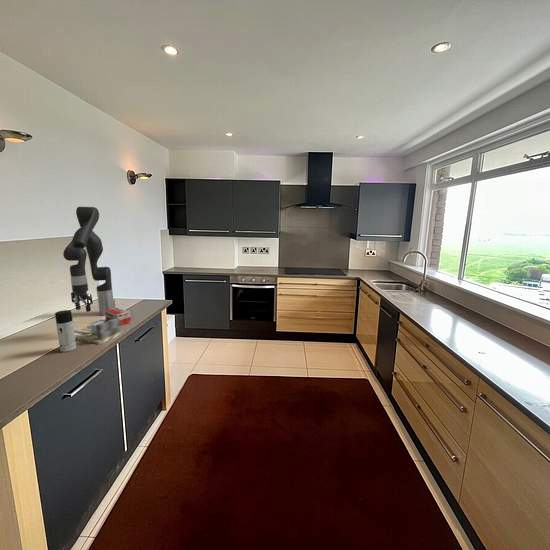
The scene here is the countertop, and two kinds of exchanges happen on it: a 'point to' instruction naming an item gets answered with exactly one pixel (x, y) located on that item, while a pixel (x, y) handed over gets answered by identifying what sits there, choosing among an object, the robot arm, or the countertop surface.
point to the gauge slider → (94, 327)
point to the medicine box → (118, 315)
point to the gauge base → (100, 332)
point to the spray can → (65, 330)
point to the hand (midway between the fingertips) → (83, 310)
